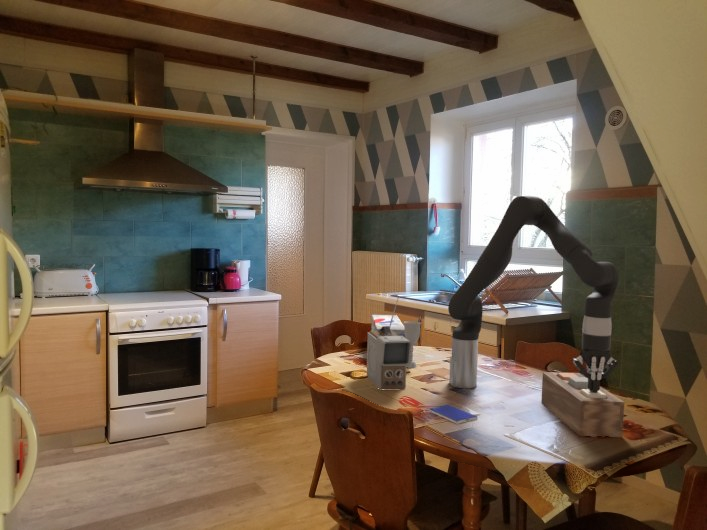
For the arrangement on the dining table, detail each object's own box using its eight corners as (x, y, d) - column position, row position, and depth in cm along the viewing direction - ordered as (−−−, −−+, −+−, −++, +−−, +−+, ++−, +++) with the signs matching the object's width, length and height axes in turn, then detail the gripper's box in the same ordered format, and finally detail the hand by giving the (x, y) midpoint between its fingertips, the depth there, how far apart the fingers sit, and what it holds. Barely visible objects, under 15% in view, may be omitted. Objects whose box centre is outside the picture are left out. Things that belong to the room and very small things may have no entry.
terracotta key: (562, 391, 176) (563, 376, 176) (556, 387, 181) (557, 372, 181) (578, 392, 176) (579, 377, 176) (572, 387, 181) (572, 372, 181)
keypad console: (579, 436, 155) (581, 401, 154) (541, 402, 185) (542, 372, 184) (622, 437, 155) (624, 401, 155) (577, 402, 185) (579, 372, 185)
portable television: (380, 393, 190) (383, 306, 188) (365, 374, 214) (366, 296, 211) (414, 392, 193) (417, 305, 191) (395, 373, 216) (397, 296, 214)
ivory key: (587, 410, 158) (588, 394, 158) (580, 405, 163) (581, 389, 163) (605, 411, 158) (606, 394, 158) (597, 405, 163) (598, 389, 163)
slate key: (574, 397, 167) (575, 381, 167) (568, 392, 172) (568, 376, 172) (591, 397, 167) (592, 381, 167) (584, 392, 172) (585, 377, 172)
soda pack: (406, 361, 236) (407, 329, 235) (375, 361, 235) (376, 328, 234) (396, 341, 276) (397, 313, 275) (370, 341, 276) (371, 313, 275)
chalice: (422, 366, 228) (424, 322, 227) (415, 369, 223) (416, 324, 221) (406, 363, 232) (408, 320, 231) (399, 366, 226) (400, 322, 225)
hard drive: (429, 408, 173) (457, 420, 163) (449, 403, 178) (477, 415, 168) (429, 412, 174) (457, 425, 163) (448, 408, 178) (477, 420, 168)
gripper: (579, 334, 155) (575, 395, 157) (626, 335, 156) (622, 396, 157) (568, 329, 163) (565, 387, 164) (613, 330, 163) (610, 388, 164)
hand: (593, 391), depth 160 cm, fingers closed
